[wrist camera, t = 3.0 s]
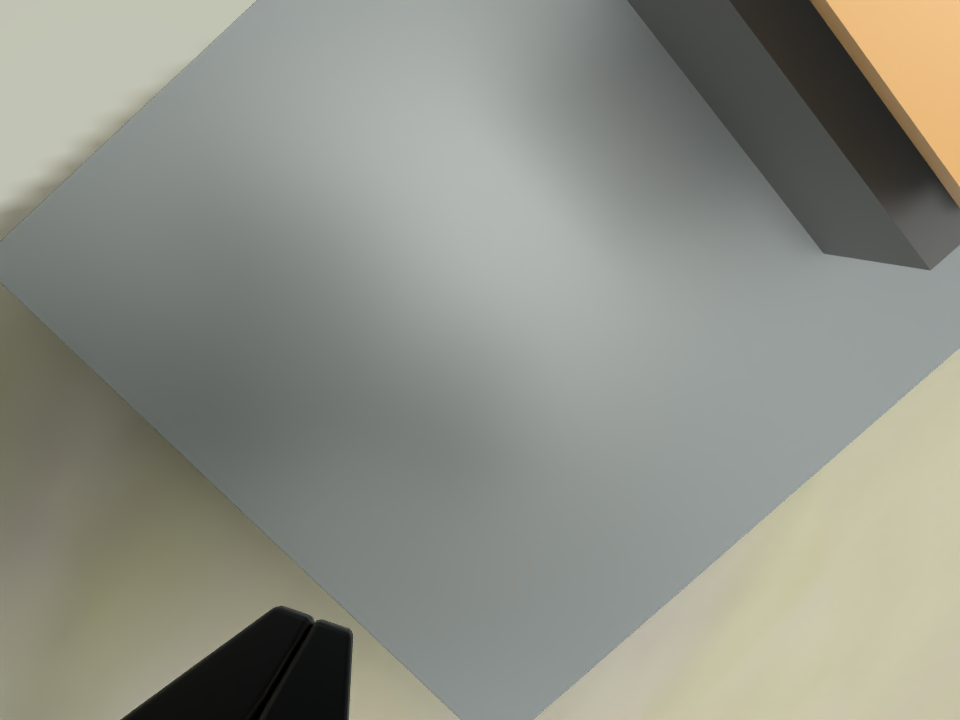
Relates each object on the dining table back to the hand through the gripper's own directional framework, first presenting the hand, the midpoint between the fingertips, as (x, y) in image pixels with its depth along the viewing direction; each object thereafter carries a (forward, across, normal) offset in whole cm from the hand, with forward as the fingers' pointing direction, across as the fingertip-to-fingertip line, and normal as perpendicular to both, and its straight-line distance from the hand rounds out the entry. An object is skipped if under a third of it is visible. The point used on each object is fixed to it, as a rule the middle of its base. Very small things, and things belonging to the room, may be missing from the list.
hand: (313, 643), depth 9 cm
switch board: (+14, -1, 0) cm, 14 cm away
